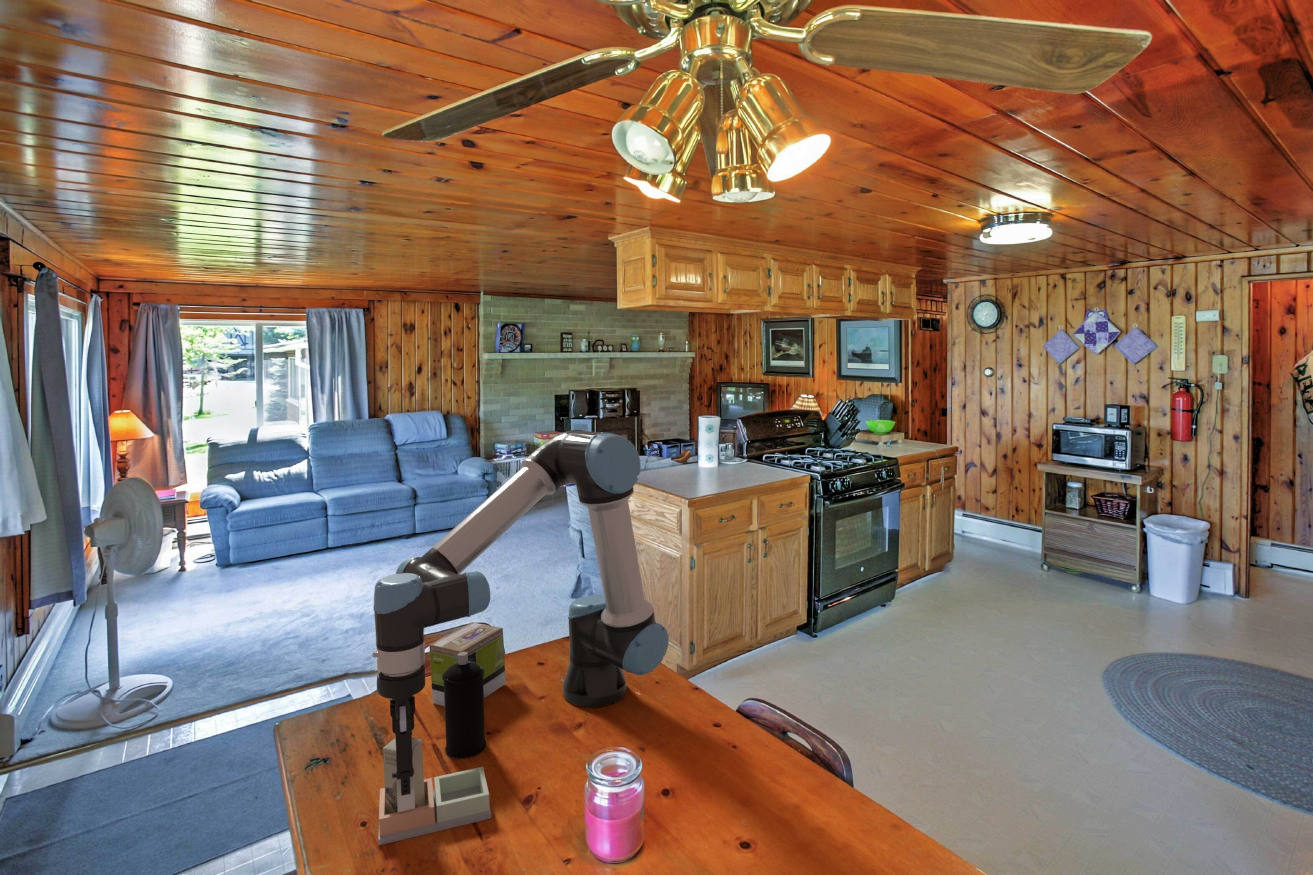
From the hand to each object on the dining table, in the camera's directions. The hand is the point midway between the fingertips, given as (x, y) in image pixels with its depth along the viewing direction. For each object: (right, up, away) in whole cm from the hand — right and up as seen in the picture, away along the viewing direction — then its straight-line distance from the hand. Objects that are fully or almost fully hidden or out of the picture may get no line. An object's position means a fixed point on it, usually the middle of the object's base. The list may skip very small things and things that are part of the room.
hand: (406, 796), depth 114 cm
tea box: (-2, 0, +45) cm, 45 cm away
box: (0, -3, 0) cm, 3 cm away
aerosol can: (+4, -2, +22) cm, 23 cm away
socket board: (+4, -4, +2) cm, 6 cm away
